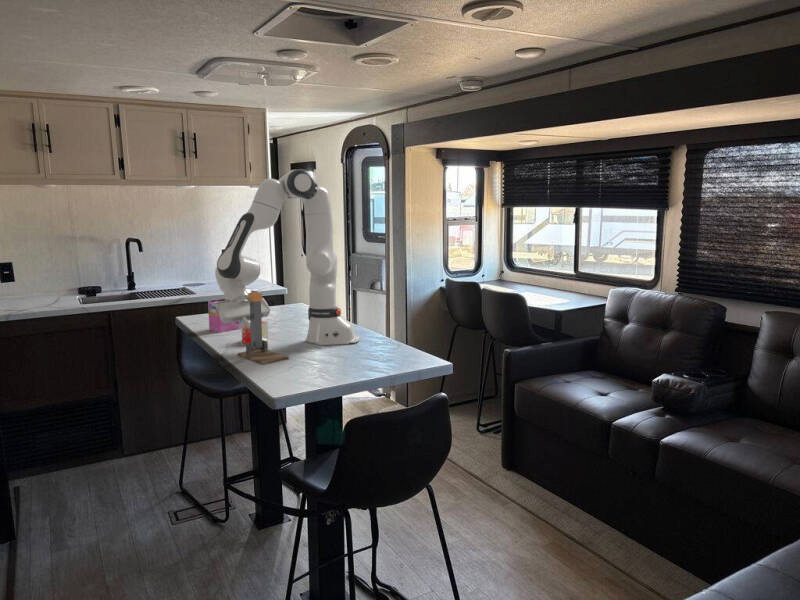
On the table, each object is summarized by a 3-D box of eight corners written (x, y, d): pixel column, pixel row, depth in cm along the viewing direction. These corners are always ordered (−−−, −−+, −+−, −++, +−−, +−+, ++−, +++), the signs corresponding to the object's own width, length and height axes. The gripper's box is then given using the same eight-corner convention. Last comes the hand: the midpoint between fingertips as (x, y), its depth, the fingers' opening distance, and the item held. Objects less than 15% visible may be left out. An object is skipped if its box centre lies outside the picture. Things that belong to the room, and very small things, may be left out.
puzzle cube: (259, 344, 245) (258, 325, 244) (242, 342, 247) (241, 324, 246) (268, 339, 253) (267, 321, 251) (251, 338, 255) (250, 320, 253)
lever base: (237, 355, 228) (236, 342, 227) (262, 350, 235) (262, 337, 235) (263, 364, 215) (262, 351, 214) (288, 358, 223) (288, 345, 222)
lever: (249, 350, 228) (247, 292, 224) (259, 348, 231) (257, 291, 227) (254, 351, 225) (252, 294, 221) (264, 349, 228) (262, 292, 224)
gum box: (252, 322, 288) (251, 294, 285) (262, 324, 283) (261, 296, 280) (208, 330, 269) (207, 300, 267) (219, 333, 264) (217, 302, 262)
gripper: (216, 297, 224) (230, 326, 219) (263, 291, 239) (278, 318, 233) (211, 307, 228) (225, 336, 223) (257, 300, 242) (272, 328, 237)
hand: (252, 327), depth 228 cm, fingers closed
